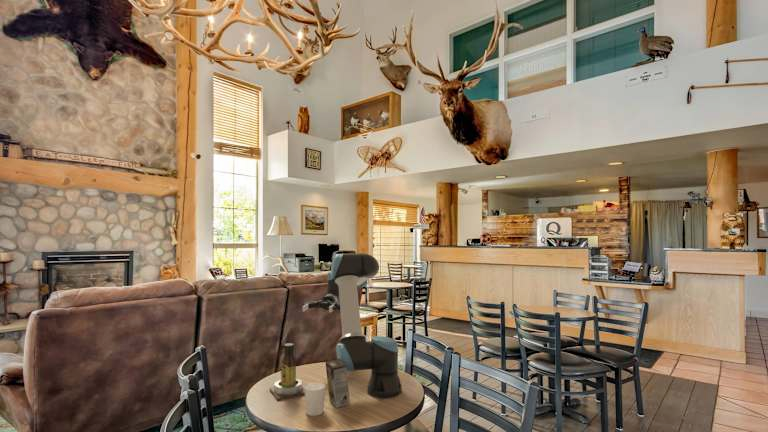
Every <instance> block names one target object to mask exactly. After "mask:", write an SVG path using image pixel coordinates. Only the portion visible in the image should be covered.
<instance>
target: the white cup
mask: <svg viewBox="0 0 768 432" xmlns="http://www.w3.org/2000/svg"><path fill="white" fill-rule="evenodd" d="M304 389H305V395H304V401H305V402H304V404H305V414H306V415H307V416H312V417H316V416H320V415H322V414H323V413H324V407H325V406H324V404H325V396H326V395H325V392H326V385H325V384H324V383H322V382H311V383H308V384H306V385H304Z"/></svg>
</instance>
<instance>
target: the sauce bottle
mask: <svg viewBox="0 0 768 432" xmlns="http://www.w3.org/2000/svg"><path fill="white" fill-rule="evenodd" d="M283 347H284V348H283V349H284V355H283V357H282V359H281V364H280V365H281V366H280V367H281V368H280V370H281V371H280V376H281V377H280V380H281V386H282V387H290V386H295V385H296V379H297V378H296V377H297V364H296V363H297V359H296V357H295V355H294V347H295V344H294V343H292V342H291V343H290V342H289V343H288V342H287V343H285V344H284V345H283Z"/></svg>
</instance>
